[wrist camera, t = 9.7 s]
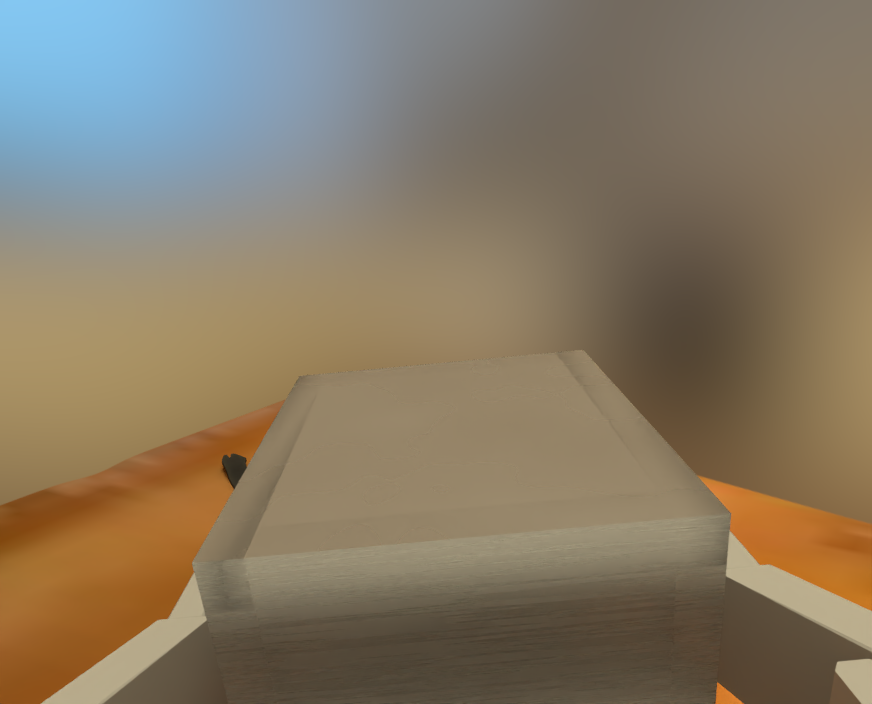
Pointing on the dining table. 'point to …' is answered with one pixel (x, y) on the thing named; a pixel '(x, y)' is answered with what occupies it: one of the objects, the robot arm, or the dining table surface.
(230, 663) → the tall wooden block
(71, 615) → the dining table surface
